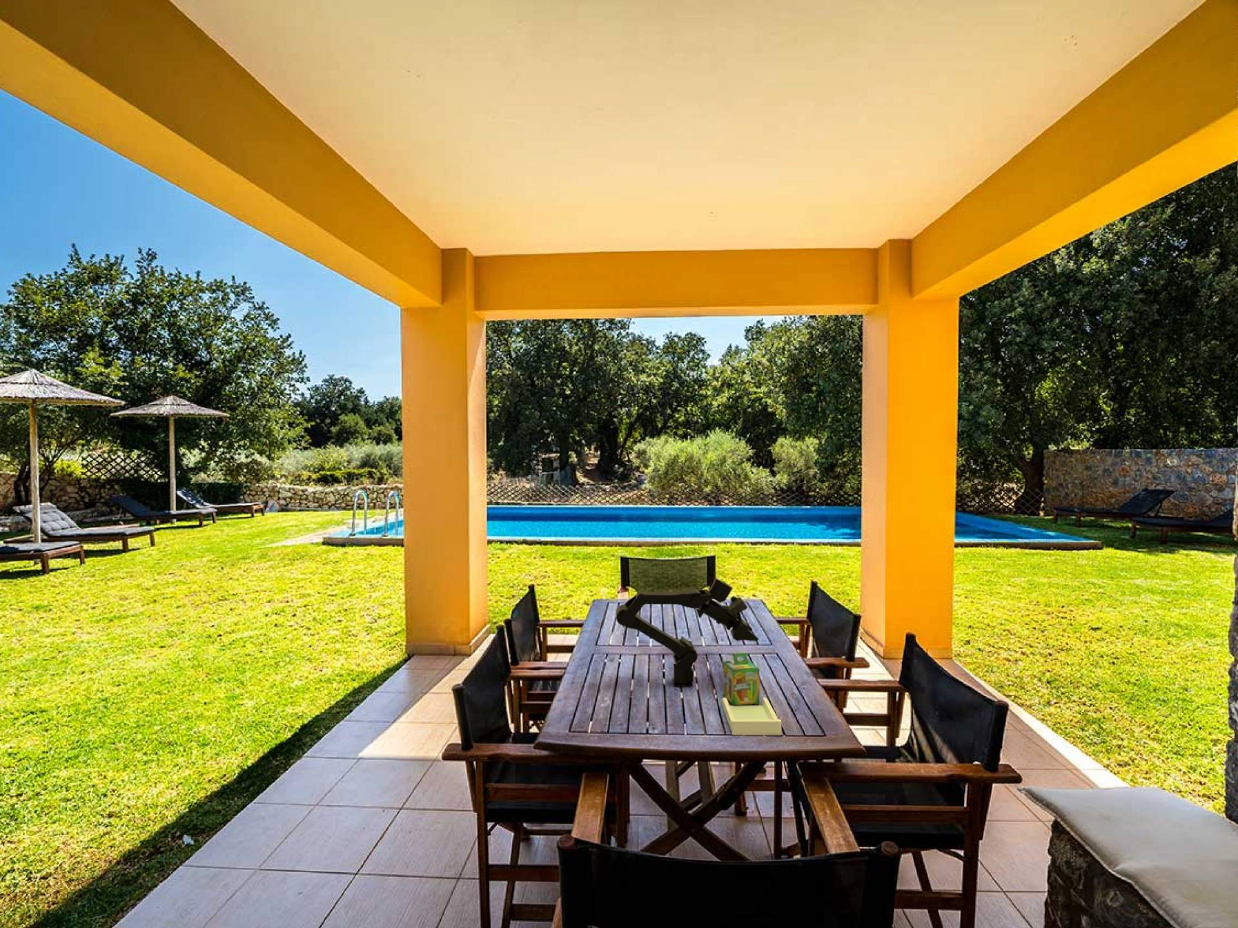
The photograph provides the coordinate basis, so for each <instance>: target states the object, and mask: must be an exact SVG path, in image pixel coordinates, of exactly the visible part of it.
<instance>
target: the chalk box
mask: <svg viewBox="0 0 1238 928" xmlns="http://www.w3.org/2000/svg"><path fill="white" fill-rule="evenodd" d="M732 656H733V660H725V661H723V695H724V698H727V701H728V702H730V703H731V704H732V706H745V705H753V704H754V705H755V704H760V668H759V667H758V666H757V665H755V664H754V663H753V662H752V661H750V660H749V659H748V655H747V653H746V652H741V653H733V655H732ZM738 658H743V659H738Z"/></svg>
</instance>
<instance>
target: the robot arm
mask: <svg viewBox="0 0 1238 928" xmlns="http://www.w3.org/2000/svg"><path fill="white" fill-rule="evenodd" d="M732 590H733V586H731V585H730V584H728V582H725V581H724V580H721V579H719V578H717V577H716V578H714V580H713V582H712V584H711V586H710V588H709V589H707V588H706V589H698V588H694V587H693V588H686V589H683V590H682V589H681V590H680V591H643V590H640V591H638V592H636V594H635V595H633V596H632V597H631V598H629V599H628V600H627V601H626V602H625V603H624V604H620V605H619V606H618V607H616V610H615V617H616V621H617V623H618V624H619V625H620V626H622V627H625V628H628V629H631V630H637V631H638V632H640V633H642V634H643V635H645V636H647V637H648V638H650V639H651V640H653V641H655V642H657V643H659V644H660V645H662V646H663V647H665V648H667V649H669V650H670V651H671V652H672V653H673V654H672V658H673V661H674V663H673V666H672V667H673V668H672V670H673V671H672V672H673V674H672V675H673V677H672V682H673V686H674V687H694V686H693V683H694V682H695V681H694V680H695V678H694V677H695V674H694V668H693V665H694V663H696V662H697V661H698V660H697V659H698V652H697V650H696V648H695V647H694V644H693V642H692V640H688V639H687V638H685V637H684V636H681V637H680V638H675V637H673V636H672V635H670V634H668V633H667V632H665V631H663V630H662V629H660V628H658V627H656V626H655V625H653V624H652V623H650V622H649V621H647V620H645V619H644V618H642V616H640V615H639V614H638V613H639V612H640V610H641V609H642V608H643V607H644V606H645V605H678V606H682V607H685V608H689V609H693V610H694V609H695V610H696V613H697V617H698V618H699V619H700V618H702V616H703V615H705V616H707V617H708V618H710V619H712V620H713V621H715V622H716V624H717V625H722V626H723V627H725V629H726V630H728V631H730V634H731V636H732V638H733V639H734V640H735V641H736V642H740V641H750V642H758V641H759V637H758V636H757V635H756V634H754V632H752V631H753V628H752V627H751V626H750V625H749V624H748V623H747V622H746V621H745V620H744V619H743V618H742V616H741V613H743V611H746V610H747V609H748V605H747V604H746V603H745V601H744V600H743V599H742V597H739V596H734V595H732V596H730V597H729V595H730V594H731V593H732ZM728 597H729V598H730V602H729V605H728V606H727V605H725V604H723V605H722V604H720V603H723V602H725V603H726V600H727V599H728Z"/></svg>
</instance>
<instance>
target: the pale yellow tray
mask: <svg viewBox="0 0 1238 928" xmlns="http://www.w3.org/2000/svg"><path fill="white" fill-rule="evenodd" d="M722 709H723V712H724V715H725V718H726V720H727V724H728V727H729V729H730V733H731V734H732V736H782V720H781V719H779V718H778V716H777V714H776V713H775V710H774V709H773V707H772V705H771V703H770V702H769V700H768V698H767V697H762V705H730V704H729V700H728V699H727V698H726V697H722Z"/></svg>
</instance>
